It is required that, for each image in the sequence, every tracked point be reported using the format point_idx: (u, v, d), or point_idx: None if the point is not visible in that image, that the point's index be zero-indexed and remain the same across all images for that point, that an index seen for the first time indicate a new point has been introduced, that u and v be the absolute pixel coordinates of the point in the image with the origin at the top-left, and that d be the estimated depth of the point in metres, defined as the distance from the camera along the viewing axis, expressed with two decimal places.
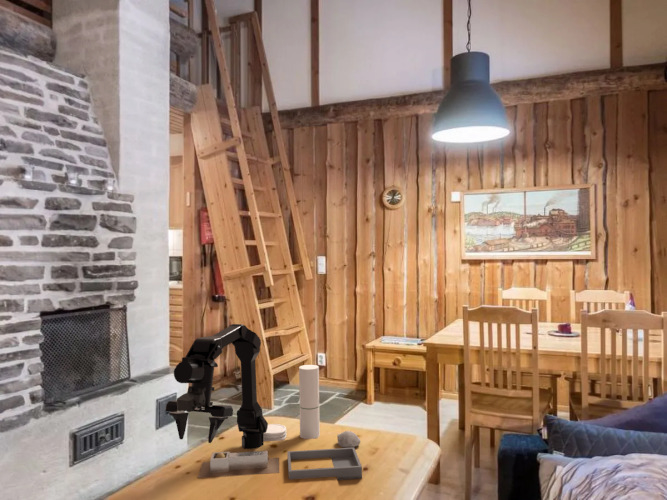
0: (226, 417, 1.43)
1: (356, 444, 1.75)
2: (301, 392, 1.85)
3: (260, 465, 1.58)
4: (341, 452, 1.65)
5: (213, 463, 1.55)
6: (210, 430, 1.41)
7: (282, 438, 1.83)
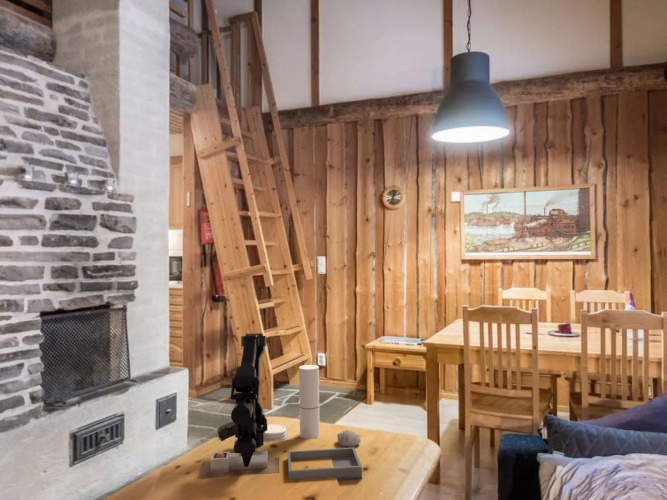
0: None
1: (356, 443, 1.76)
2: (301, 392, 1.85)
3: (260, 465, 1.58)
4: (341, 452, 1.65)
5: (213, 463, 1.55)
6: None
7: (282, 438, 1.83)
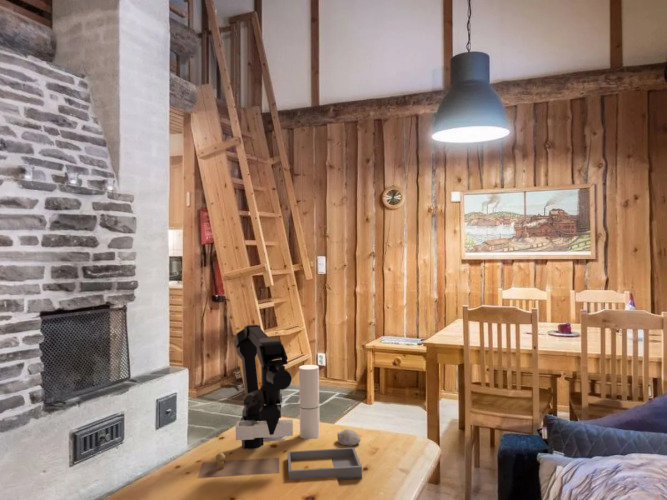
0: None
1: (357, 442, 1.77)
2: (301, 392, 1.85)
3: (285, 433, 1.57)
4: (341, 452, 1.65)
5: (238, 430, 1.55)
6: None
7: (282, 438, 1.83)
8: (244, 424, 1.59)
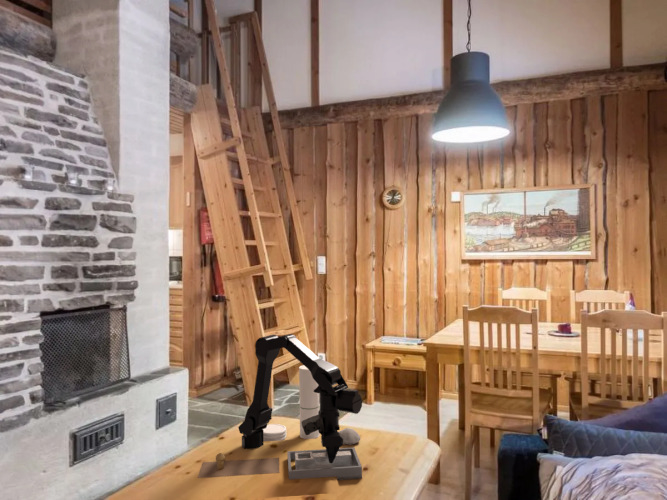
0: None
1: (357, 440, 1.78)
2: (301, 392, 1.85)
3: (344, 465, 1.58)
4: None
5: (298, 463, 1.55)
6: None
7: (282, 438, 1.83)
8: (302, 456, 1.59)
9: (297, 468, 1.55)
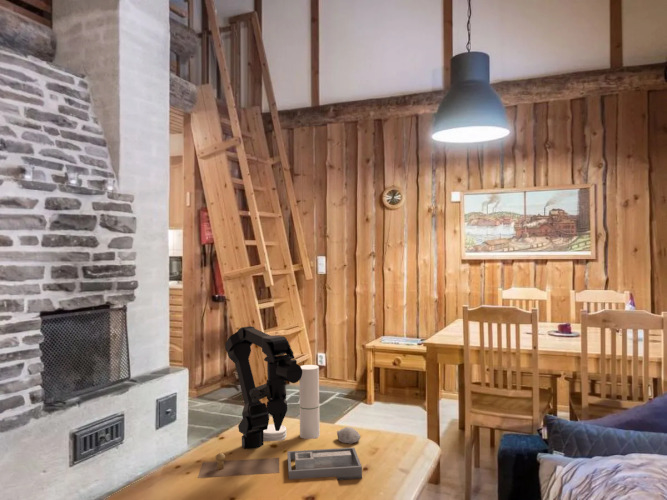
0: (282, 411, 1.56)
1: (357, 439, 1.79)
2: (301, 392, 1.85)
3: (344, 465, 1.58)
4: None
5: (298, 463, 1.55)
6: None
7: (282, 438, 1.83)
8: (302, 456, 1.59)
9: (297, 468, 1.55)
